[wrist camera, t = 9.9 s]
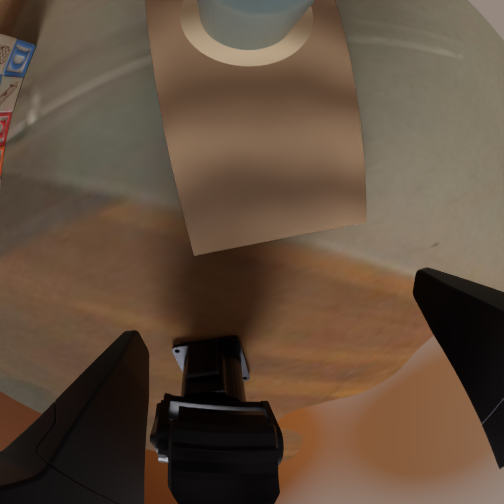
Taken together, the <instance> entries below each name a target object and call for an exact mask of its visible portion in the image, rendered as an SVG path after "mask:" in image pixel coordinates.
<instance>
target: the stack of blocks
mask: <svg viewBox="0 0 504 504" xmlns="http://www.w3.org/2000/svg"><path fill="white" fill-rule="evenodd" d="M35 47H36V45H34V44H31V43H28V42H25V41H22V40H19V39H16V38H14V37H10V36H7V35H4V34H0V186H1V170H2V162H3V156H4V149H5V142H6V137H7V133H8V128H9V124H10V119H11V116H12V111H13V110H14V106H15V103H16V99H17V96H18V93H19V90H20V87H21V84H22V81H23V77H24V75H25V72H26V70H27V67H28V65H29V62H30V59H31V57H32V54H33V52H34V50H35Z"/></svg>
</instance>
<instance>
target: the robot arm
mask: <svg viewBox="0 0 504 504" xmlns="http://www.w3.org/2000/svg"><path fill="white" fill-rule="evenodd" d="M413 296H414V298H415V300H416V302H417V304H418V306H419V308H420V310H421V312H422V313H423V315H424V317H425V319H426V321H427V323H428V325H429V327H430V329H431V331H432V333H433V334H434V336H435V338H436V339H437V341H438V343H439V344H440V346H441V347H442V349H443V351H444V353H445V354H446V356H447V358H448V360H449V361H450V363H451V365H452V367H453V368H454V370H455V372H456V374H457V375H458V377H459V379H460V381H461V383H462V385H463V387H464V388H465V391H466V393H467V394H468V396H469V398H470V400H471V402H472V405H473V407H474V409H475V411H476V413H477V415H478V417H479V419H480V421H481V423H482V426H483V429H484V431H485V433H486V436H487V438H488V441H489V443H490V446H491V448H492V451H493V453H494V456H495V459H496V462H497V464H498V467H499V469H501V468H502V467H504V292H502V291H499V290H496V289H493V288H490V287H487V286H484V285H481V284H478V283H475V282H472V281H469V280H466V279H463V278H460V277H457V276H454V275H450V274H447V273H444V272H441V271H438V270H434V269H431V268H423V269H420V270H418V271H417V272H416V276H415V282H414V287H413ZM233 340H235V341H233ZM176 349H178V350H176ZM172 352H173V354H174V356H175V358H176V360H177V362H178V364H179V366H180V368H181V370H182V372H183V379H182V392H181V396H174V395H171V394H167V393H165V395H164V400H161V403H158V404H157V408H156V415H155V421H154V424H153V428H152V431H151V434H150V442H151V444H152V445H153V446H154V447H155V448H156V453H158V459H159V462H164V463H168V487H169V489H170V491H171V492H172V495H173V496H174V498H175V499H176V501H177V503H178V504H274V503H275V501H276V499H277V498H278V496H279V493H280V490H279V480H278V465H279V464H280V463H281V460H282V457H283V449H284V447H283V436H282V432H281V430H280V427H279V425H278V423H277V421H276V418H275V416H274V414H273V412H272V409H271V407H270V405H269V403H268V401H261V402H246V397H245V389H244V382H243V381H247V380H249V378H250V377H249V372H248V369H247V365H246V361H245V358H244V354H243V351H242V347H241V343H240V340H239V337H237V336H228V337H222V338H217V339H211V340H204V341H198V342H191V343H184V344H177V345H174V346H173V347H172ZM148 404H149V352H148V349H147V347H146V345H145V343H144V341H143V339H142V338H141V336H140V334H139V332H138V331H136V330H132V331H125V332H124V333H123V334H121V335H120V336H119V337H118V338H117V339H116V340H115V341H114V342H113V343H112V344H111V345H110V346H109V347H108V348H107V349H106V350H105V351H104V352H103V353H102V354H101V355H100V356H99V357H98V358H97V359H96V360H95V361H94V362H93V363H92V364H91V365H90V366H89V367H88V368H87V369H86V370H85V371H84V372H83V373H82V374H81V375H80V376H79V377H78V378H77V379H76V380H75V381H74V382H73V383H72V384H71V385H70V386H69V387H68V388H67V389H66V390H65V391H64V392H63V393H62V394H61V395H60V396H59V397H58V398H57V399H56V401H55V402H53V403H52V405H51V406H50V407H49V408H48V409H47V410H46V411H45V412H44V413H43V414H42V415H41V416H40V417H39V418H38V419H37V420H36V421H35V422H34V423H33V424H32V425H31V426H29V427H28V428H27V429H26V430H25V431H24V432H23V433H22V434H21V435H19V436H18V438H16V439H15V440H14V441H13V442H12V443H11V444H10V445H9V446H7V447H6V448H5V449H4V450H3V451H1V452H0V504H144V467H145V444H146V428H147V415H148Z"/></svg>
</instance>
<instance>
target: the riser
mask: <svg viewBox="0 0 504 504" xmlns="http://www.w3.org/2000/svg"><path fill="white" fill-rule="evenodd" d="M145 4H146V14H147V24H148V32H149V40H150V48H151V55H152V62H153V69H154V75H155V81H156V87H157V93H158V99H159V105H160V110H161V116H162V121H163V126H164V131H165V136H166V141H167V146H168V151H169V155H170V160H171V165H172V169H173V174H174V178H175V182H176V187H177V191H178V195H179V199H180V203H181V207H182V211H183V215H184V219H185V223H186V227H187V231H188V235H189V238H190V242H191V246H192V250H193V253H194V256H196V255H201V254H206V253H211V252H216V251H221V250H226V249H231V248H236V247H241V246H246V245H251V244H256V243H261V242H267V241H272V240H277V239H282V238H287V237H292V236H297V235H302V234H308V233H313V232H318V231H323V230H328V229H334V228H339V227H344V226H349V225H355V224H360V223H365V222H367V216H366V183H365V166H364V153H363V142H362V132H361V123H360V115H359V108H358V101H357V94H356V88H355V82H354V77H353V71H352V66H351V61H350V56H349V52H348V47H347V43H346V38H345V34H344V30H343V26H342V23H341V19H340V15H339V12H338V8H337V5H336V2H335V0H315V1H314V3H313V4H312V5H311V6H310V7H309V9H308V10H307V11H306V12H305V13H304V15H303V16H302V17H301V18H300V20H299V21H298V22H297V23H296V25H295V26H294V27H293V28H292V30H291V31H290V32H289V34H288V35H287V36H286V37H285V38H284V39H283V40H281V41H280V42H278V43H277V44H275V45H272V46H270V47H267V48H263V49H258V50H240V49H235V48H231V47H228V46H225V45H223V44H220V43H219V42H217V41H215V40H214V39H213V38H211V37H210V36H209V35H208V34H207V33H206V31H205V30H204V28H203V26H202V24H201V21H200V16H199V9H198V3H197V0H145Z"/></svg>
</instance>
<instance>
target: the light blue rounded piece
mask: <svg viewBox="0 0 504 504" xmlns="http://www.w3.org/2000/svg"><path fill="white" fill-rule="evenodd" d="M314 1H315V0H197V3H198V9H199V16H200V21H201V24H202V26H203V28H204V30H205V31H206V33H207V34H208V35H209V36H210V37H211V38H213V39H214V40H215V41H217V42H219V43H220V44H223V45H225V46H228V47H231V48H235V49H240V50H258V49H263V48H267V47H270V46H272V45H275V44H277V43H278V42H280V41H281V40H283V39H284V38H285V37H286V36H287V35H288V34H289V32H290V31H291V30H292V28H293V27H294V26H295V25H296V23H297V22H298V21H299V20H300V18H301V17H302V16H303V15H304V13H305V12H306V11H307V10H308V9H309V7H310V6H311V5H312V4H313V3H314Z"/></svg>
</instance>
